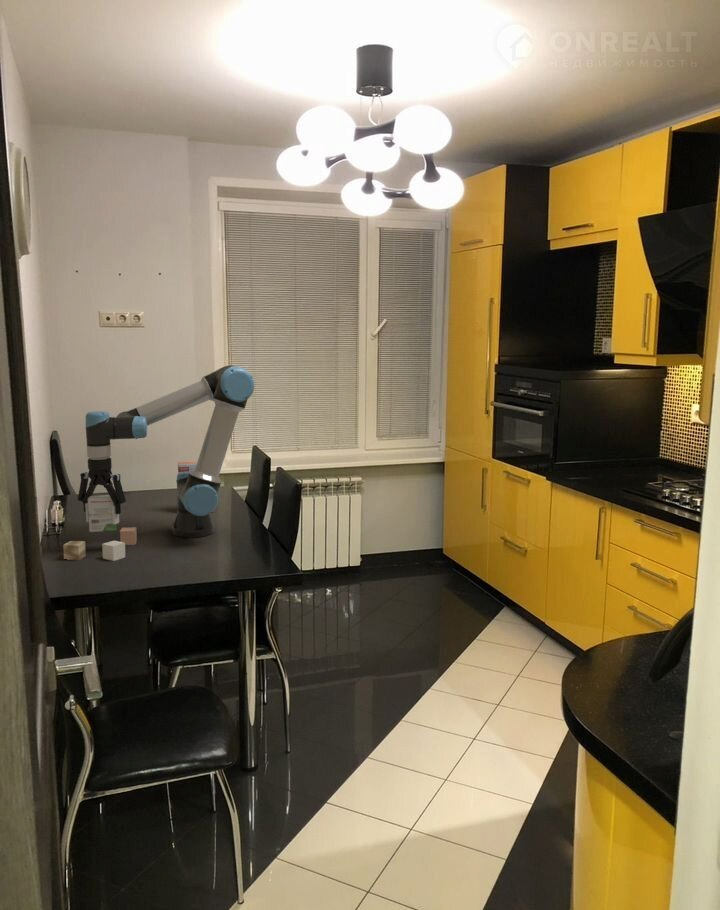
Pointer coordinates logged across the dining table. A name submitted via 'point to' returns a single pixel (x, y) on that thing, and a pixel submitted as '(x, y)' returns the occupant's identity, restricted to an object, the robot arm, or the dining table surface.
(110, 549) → the off-white cube
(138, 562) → the dining table surface
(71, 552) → the maple cube
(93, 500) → the ink box
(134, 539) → the terracotta cube
